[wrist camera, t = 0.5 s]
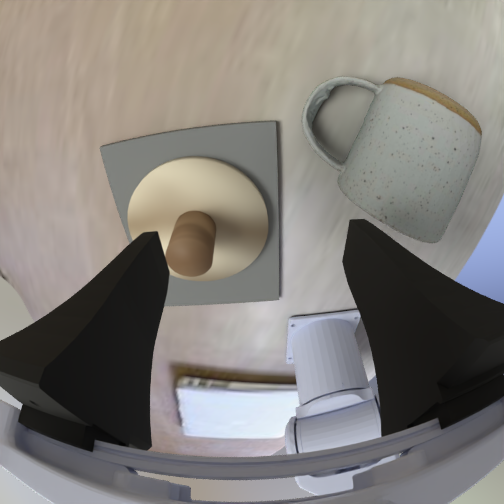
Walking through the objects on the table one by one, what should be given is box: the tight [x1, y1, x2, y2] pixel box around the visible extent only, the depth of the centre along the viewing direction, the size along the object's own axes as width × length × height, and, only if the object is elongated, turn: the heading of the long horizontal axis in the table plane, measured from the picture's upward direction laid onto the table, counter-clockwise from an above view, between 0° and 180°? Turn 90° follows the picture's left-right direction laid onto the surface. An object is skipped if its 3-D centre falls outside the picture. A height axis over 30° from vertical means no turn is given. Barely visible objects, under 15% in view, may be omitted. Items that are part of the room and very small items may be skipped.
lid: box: [128, 156, 268, 281], centre depth 19 cm, size 10×10×4 cm
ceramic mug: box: [301, 77, 482, 243], centre depth 14 cm, size 11×8×8 cm
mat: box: [100, 121, 279, 306], centre depth 21 cm, size 16×12×1 cm
